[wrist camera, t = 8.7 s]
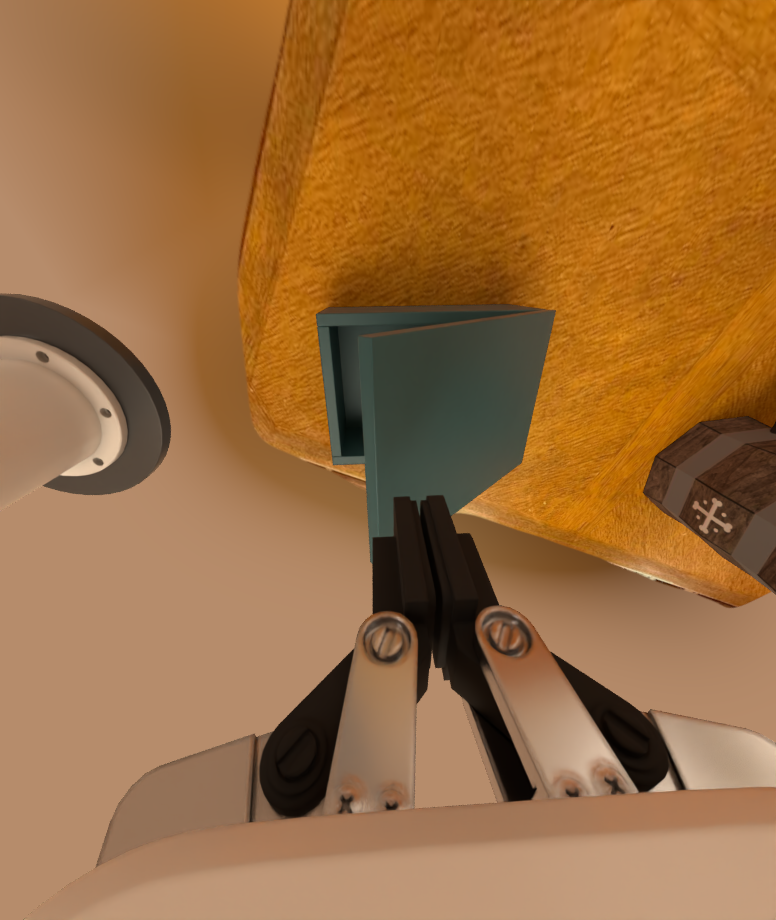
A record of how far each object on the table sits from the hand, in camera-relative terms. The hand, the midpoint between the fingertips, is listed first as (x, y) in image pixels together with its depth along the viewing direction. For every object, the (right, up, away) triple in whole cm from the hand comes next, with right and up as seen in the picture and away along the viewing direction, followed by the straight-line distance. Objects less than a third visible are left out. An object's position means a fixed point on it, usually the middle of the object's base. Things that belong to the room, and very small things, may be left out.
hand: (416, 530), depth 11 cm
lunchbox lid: (+4, +5, +8) cm, 10 cm away
